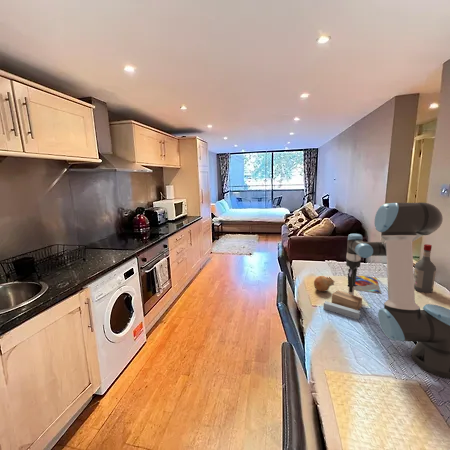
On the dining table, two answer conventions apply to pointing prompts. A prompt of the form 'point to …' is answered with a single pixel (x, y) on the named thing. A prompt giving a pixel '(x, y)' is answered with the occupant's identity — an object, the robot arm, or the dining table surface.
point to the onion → (321, 283)
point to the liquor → (424, 272)
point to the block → (346, 300)
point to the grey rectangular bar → (342, 310)
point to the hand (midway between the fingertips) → (350, 296)
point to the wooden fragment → (330, 281)
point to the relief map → (367, 284)
